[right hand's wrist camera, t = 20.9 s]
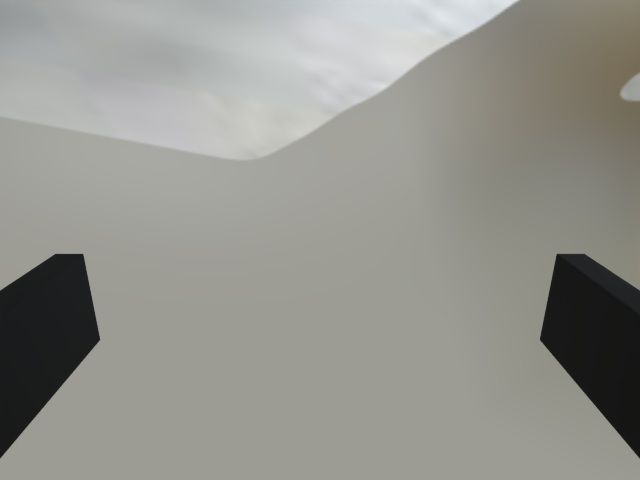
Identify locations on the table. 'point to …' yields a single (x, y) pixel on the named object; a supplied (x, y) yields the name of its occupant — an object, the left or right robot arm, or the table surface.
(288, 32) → the table surface
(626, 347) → the right robot arm
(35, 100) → the table surface
